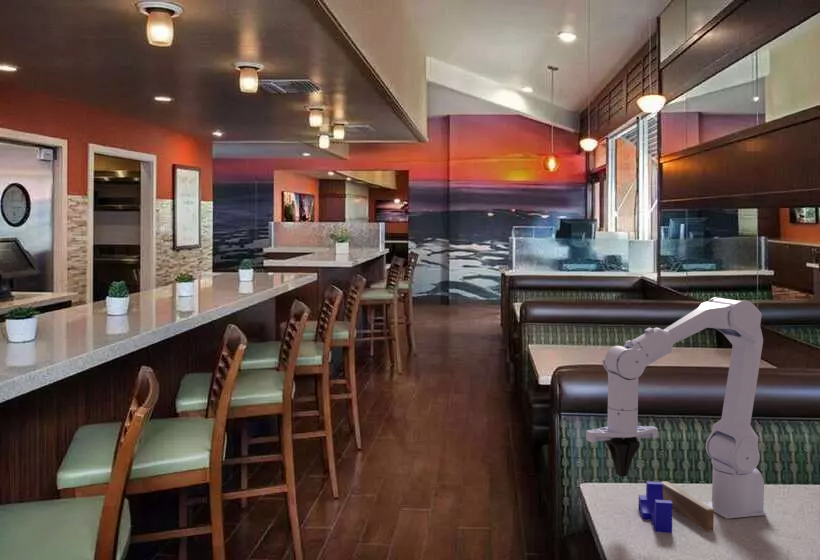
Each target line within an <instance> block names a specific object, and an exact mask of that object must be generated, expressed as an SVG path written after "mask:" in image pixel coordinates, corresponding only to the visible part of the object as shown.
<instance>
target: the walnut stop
mask: <svg viewBox="0 0 820 560" xmlns="http://www.w3.org/2000/svg"><path fill="white" fill-rule="evenodd" d="M661 482H662V484H663V500H671V501H672V503H673V508H672V511H674V512H676V513H678V514H679V515H680V516H682V517H683V518H685V519H687V520H688V521H690V523H691V522H692V523H693V524H695V525H696V526H698V527H700V528H701V529H702V530H703V531H706V532H712V531H714V521H715V520H714V519H715V518H714V517H715V516H714V514H715V512H714V509H713V508H712V507H710V506H708V505H707V504H705V503H704V502H703V501H701V500H699V498H697V497H695V496H693V495H691V494H690V493H688V492H687V491H684V490H683V489H681V488H679V487H677V486H675V485H674V484H673V483H671V482H669V481H668V480H666V481H661Z"/></svg>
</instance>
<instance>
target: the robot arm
mask: <svg viewBox="0 0 820 560" xmlns="http://www.w3.org/2000/svg"><path fill="white" fill-rule="evenodd" d="M762 316H763V314H762V312H761V311H760V310H759V309H758V308H757V307H756V305H755V303H753V302H751V301H749V300H739V299H738V300H736V299H730V298H723V297H721V296H715V297H712V298H709V300H708V301H704V302H702V303H700V304H699V306H698V307H696V308H694V310H692V311H691V312H689V313H687V314H686V315H684V316H682V317H681V318H679V319H678V320H676V321H675V322H673V323H672V324H670V325H667V326H666V327H665V328H664V329H662V328H661V327H654V328H653V327H652V328H651V327H647V328H646V329H644V333H643V334H641V335H639V336H637V337H636V338H634V339H631V340H630V339H628V340H626V341H625V342H624V343H625V344H624V345H623V346H622V345H614V346H612V347H611V348H610V349H608V350H607V352H606V353H605V356H604V358H603V359H602V366H603V368H604V369H605V370H606V372H607V426H604V427H599V428H595V429H586V433H585V434H586V435H585V439H586V441H587V442H590V443H596V442H600V441H601V442H602V441H604V442H605V445H606V447H607V448H608V450H609V453H610V455H611V457H612V461H613V465H614V468H615V474H616V475H617V476H619V477H628V473H629V470H630V466H631V463H632V460H633V459H634V456H635V454H636V453H637V451H638V450H639V448H640V445H641V443H640V441H638V440H637V439H644V438H645V439H646V438H652V439H658V437H659V436H658V435H659V434H658V433H659V429H658V428H657V427H655V426H654V425H649V426H648V425H643V426H642V425H638V423H639V421H638V418H639V417H638V412H639V377H641V376H642V374H643V373H644V371H645V369H646V367H647V366H649V365H651V364H653V363H655V362H656V361H658V360H660V359H662V358H663V357H666V356H667V355H669V354H670V353H672V351H673V347H674V344H676V343H678V342H681V341H683V340H684V339H686V338H689V337H691V336H693V335H695V334H696V333H699V332H701V331H703V330H705V329H707V328H708V329H715V330H716V331H718V332H720V333H721V334H723V336H724V337H725V338H726V339H727V340H728V341H729V343H730V344H731V345H732V346H731V347H732V349H731V353H730V354H731V355H730V359H729V366H728V371H727V372H728V373H727V381H726V385H725V386H726V387H725V392H724V399H723V406H722V412H721V419H719V420H718V421H716V422H715V423H713V424H712V427H711V432H710V434H709V436H708V437H707V439H706V442H705V452H706V454H707V456H708V457H709V458H710V459H711V464H712V477H711V478H712V479H711V480H712V481H711V482H712V488H711V491H712V492H711V501H706V502H705V501H704V502H703V503H705V504H707V505H708V506H710V507H712V508H713V509H714V513H715V514H716V515H717V514H718V515H719V516H721V517H723V518H724V519H727V520H728V519H739V518H746V517H747V518H748V517H749V518H750V517H756V516H757V517H759V516H766V515H767V512H766V511H764V505H765V502H764V499H765V481H764V478H763V474H762V473H761V472H760V471H759V469H758V468H757V466H758V465H759V462H760V459H761V458H760V457H761V456H760V450H759V436H758V435H757V434H756V432H755V431H754V429H753V427H752V426H751V422H752V416H753V409H754V404H755V403H754V402H755V397H756V390H757V385H758V378H759V372H760V371H759V370H760V364H761V357H762V351H763V346H764V345H763V344H764V337H763V332H762V328H761V322H762Z"/></svg>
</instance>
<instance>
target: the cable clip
mask: <svg viewBox="0 0 820 560" xmlns="http://www.w3.org/2000/svg"><path fill="white" fill-rule="evenodd" d="M662 482H663V481H650V480H649V481H647V480H646V483H645V485H646V486H645V487H646V489H645V491H646V492H645V494H638V510H639V513H640V516H641V517H642V520H644V521H645V520H648V519H649V520H650V521H651V524H652V527H653V529H654V532H655V533H663V534H664V533H667V534H672V533H673V509H672V508H673V503H672V501H671V500H663V484H662ZM649 520H648V521H649Z"/></svg>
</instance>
